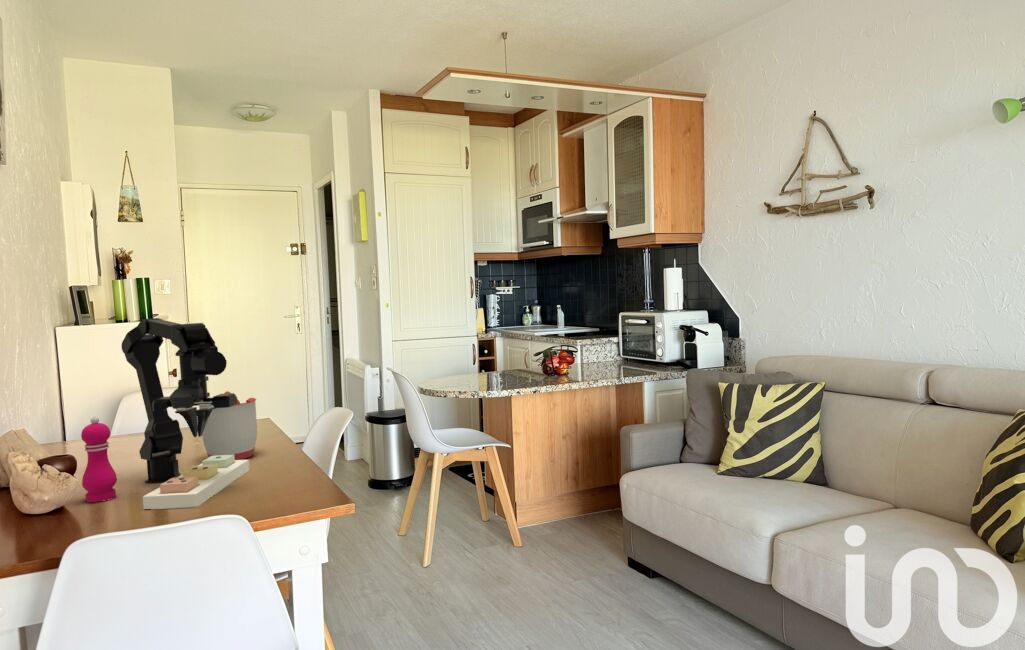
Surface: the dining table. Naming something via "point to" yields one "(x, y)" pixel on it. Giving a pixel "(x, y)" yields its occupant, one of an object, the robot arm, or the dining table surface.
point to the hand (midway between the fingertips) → (197, 436)
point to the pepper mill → (98, 463)
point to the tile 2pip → (201, 472)
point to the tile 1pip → (219, 461)
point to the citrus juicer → (232, 430)
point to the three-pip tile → (179, 485)
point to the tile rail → (197, 489)
